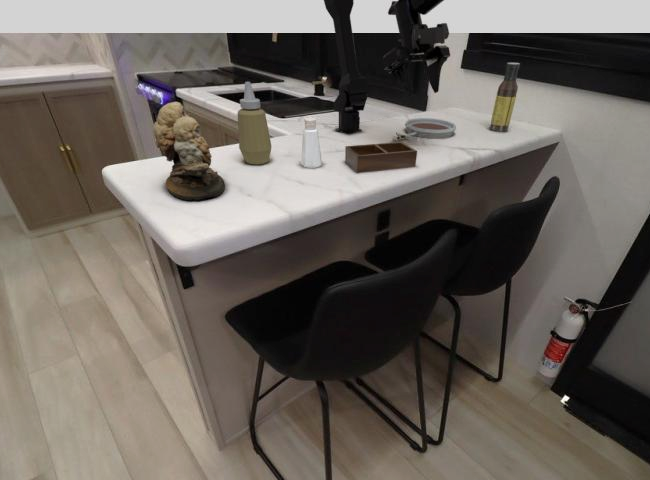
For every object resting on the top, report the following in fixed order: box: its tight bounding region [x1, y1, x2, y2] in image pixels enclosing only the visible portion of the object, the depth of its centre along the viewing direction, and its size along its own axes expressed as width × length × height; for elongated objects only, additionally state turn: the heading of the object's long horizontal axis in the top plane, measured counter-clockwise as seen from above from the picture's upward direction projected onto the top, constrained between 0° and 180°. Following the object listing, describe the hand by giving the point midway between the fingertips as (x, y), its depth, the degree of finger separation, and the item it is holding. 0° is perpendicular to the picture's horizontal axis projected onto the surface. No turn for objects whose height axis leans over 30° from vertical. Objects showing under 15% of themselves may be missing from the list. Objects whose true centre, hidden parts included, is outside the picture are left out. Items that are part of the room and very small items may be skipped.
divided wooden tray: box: [344, 141, 418, 174], centre depth 98 cm, size 9×16×4 cm, turn 111°
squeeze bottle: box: [237, 81, 272, 165], centre depth 92 cm, size 8×8×18 cm
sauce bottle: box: [489, 62, 521, 133], centre depth 125 cm, size 6×6×20 cm
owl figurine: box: [152, 101, 226, 201], centre depth 78 cm, size 18×12×17 cm, turn 34°
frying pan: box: [391, 117, 457, 142], centre depth 122 cm, size 17×3×28 cm
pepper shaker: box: [300, 116, 323, 169], centre depth 94 cm, size 5×5×11 cm
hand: (424, 93), depth 96 cm, fingers open, 9 cm apart
